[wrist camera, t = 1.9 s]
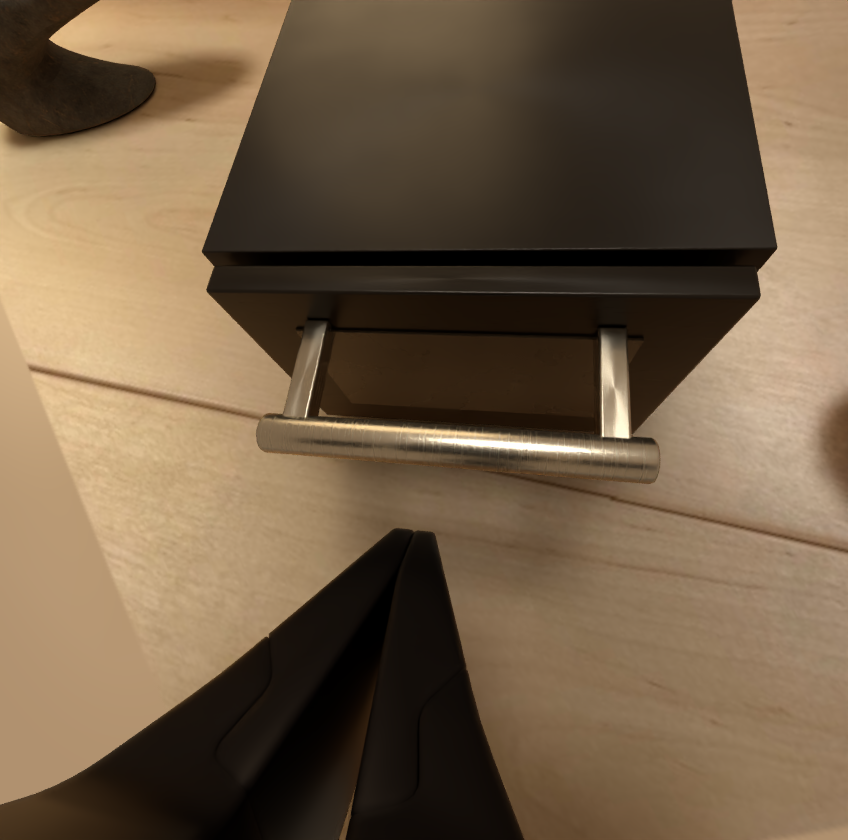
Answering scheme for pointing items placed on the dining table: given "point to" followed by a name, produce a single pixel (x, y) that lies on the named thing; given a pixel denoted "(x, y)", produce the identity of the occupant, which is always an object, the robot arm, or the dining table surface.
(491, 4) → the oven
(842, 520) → the dining table surface
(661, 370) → the oven door
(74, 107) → the coffee table
